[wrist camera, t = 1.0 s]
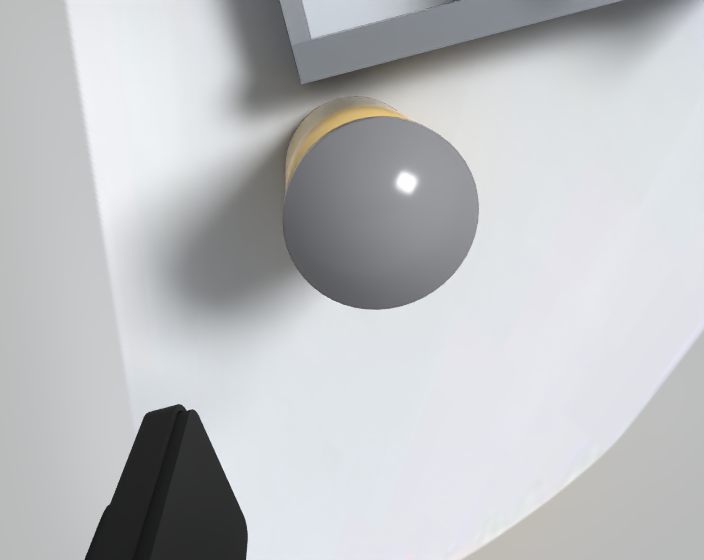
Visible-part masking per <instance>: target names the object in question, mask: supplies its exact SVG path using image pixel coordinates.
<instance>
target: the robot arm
mask: <svg viewBox="0 0 704 560" xmlns="http://www.w3.org/2000/svg"><path fill="white" fill-rule="evenodd" d="M247 541H248V533H247V525H246V521H245V518H244V515H243V513H242V511H241V509H240V506H239V504H238V502H237V500H236V498H235V495H234V493H233V491H232V489H231V486H230V484H229V482H228V480H227V478H226V475H225V473H224V471H223V469H222V466H221V464H220V462H219V460H218V457H217V455H216V453H215V451H214V449H213V446H212V444H211V442H210V440H209V437H208V435H207V433H206V431H205V429H204V426H203V424H202V422H201V420H200V417H199V415H198V414H197V412H196V411H195V410H193V409H192V410H188V411H186V409H185V408H184V407H183V406H182V405H180V404H178V405H174V406H170V407H166V408H163V409H159V410H155V411H151V412H148V413H146V415H145V416H144V418H143V421H142V423H141V426H140V429H139V431H138V434H137V436H136V439H135V441H134V444H133V447H132V449H131V452H130V454H129V457H128V460H127V462H126V465H125V467H124V470H123V472H122V475H121V477H120V480H119V483H118V485H117V488H116V490H115V493H114V496H113V498H112V501H111V503H110V505H108V506H107V508H106V509H105V511H104V513H103V515H102V517H101V519H100V522H99V524H98V527H97V529H96V532H95V535H94V537H93V539H92V542H91V545H90V547H89V550H88V552H87V555H86V557H85V560H246V553H247Z"/></svg>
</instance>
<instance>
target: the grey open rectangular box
mask: <svg viewBox="0 0 704 560" xmlns="http://www.w3.org/2000/svg"><path fill="white" fill-rule="evenodd" d="M619 1H622V0H458V1H454V2H451V3H447V4H443V5H439V6H435V7H431V8H428V9H424V10H420V11H416V12H412V13H409V14H405V15H401V16H397V17H393V18H389V19H386V20H382V21H378V22H374V23H370V24H367V25H363V26H359V27H355V28H351V29H347V30H344V31H340V32H336V33H332V34H328V35H325V36H321V37H317V38H313V39H311V35H310V31H309V27H308V23H307V19H306V15H305V11H304V7H303V2H302V0H280V4H281V8H282V12H283V15H284V19H285V23H286V27H287V31H288V35H289V38H290V42H291V46H292V50H293V54H294V58H295V61H296V65H297V69H298V73H299V77H300V80H301V84H306V83H309V82H313V81H317V80H321V79H325V78H328V77H332V76H336V75H340V74H344V73H348V72H351V71H355V70H359V69H363V68H367V67H370V66H374V65H378V64H382V63H386V62H390V61H393V60H397V59H401V58H405V57H409V56H412V55H416V54H420V53H424V52H428V51H432V50H435V49H439V48H443V47H447V46H451V45H454V44H458V43H462V42H466V41H470V40H473V39H477V38H481V37H485V36H489V35H493V34H496V33H500V32H504V31H508V30H512V29H515V28H519V27H523V26H527V25H531V24H535V23H538V22H542V21H546V20H550V19H554V18H557V17H561V16H565V15H569V14H573V13H577V12H580V11H584V10H588V9H592V8H596V7H599V6H603V5H607V4H611V3H615V2H619Z"/></svg>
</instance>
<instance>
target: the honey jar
mask: <svg viewBox="0 0 704 560" xmlns="http://www.w3.org/2000/svg"><path fill="white" fill-rule="evenodd" d="M285 170H286V191H285V197H284V202H283V230H284V237H285V241H286V246H287V249H288V251H289V254H290V256H291V259H292V261H293V262H294V264H295V266H296V268H297V269H298V271H299V272H300V273H301V275H302V276H303V277H304V279H305V280H306V281H307V282H308V283H309V284H310V285H311V286H312V287H314V288H315V289H316V290H318V291H319V292H320V293H321V294H323V295H325V296H327V297H328V298H330V299H332V300H334V301H336V302H339V303H341V304H344V305H347V306H351V307H355V308H361V309H375V310H379V309H390V308H395V307H400V306H403V305H406V304H409V303H412V302H415V301H417V300H419V299H421V298H423V297H425V296H427V295H428V294H430V293H432V292H433V291H435V290H436V289H437V288H439V287H440V286H441V285H443V284H444V283H445V282H446V281H447V280H448V279H449V278H450V277H451V276H452V275H453V274H454V273H455V271H456V270H457V269H458V268H459V266H460V265H461V264H462V262H463V260H464V259H465V257H466V256H467V254H468V251H469V249H470V247H471V245H472V242H473V239H474V236H475V233H476V229H477V224H478V214H479V204H478V194H477V189H476V185H475V182H474V179H473V176H472V173H471V171H470V169H469V167H468V166H467V164H466V162H465V160H464V159H463V158H462V156H461V155H460V154H459V152H458V151H457V150H456V149H455V148H454V147H453V146H452V145H451V144H450V143H449V142H448V141H447V140H445V139H444V138H443V137H441V136H440V135H439V134H437V133H436V132H434V131H432V130H431V129H429V128H427V127H425V126H423V125H422V124H419V123H416V122H414V121H412V120H410V119H409V118H407V117H406V116H404V115H403V114H401V113H400V112H398V111H397V110H395V109H394V108H392V107H390V106H389V105H387V104H385V103H383V102H381V101H378V100H375V99H371V98H367V97H358V96H354V97H344V98H339V99H335V100H332V101H329V102H327V103H325V104H323V105H321V106H319V107H318V108H317V109H315V110H314V111H312V112H311V113H310V114H309V115H308V116H307V117H306V118H305V119H304V120H303V121H302V122H301V123H300V125H299V126H298V128H297V129H296V131H295V132H294V134H293V136H292V139H291V141H290V144H289V147H288V150H287V155H286V168H285Z"/></svg>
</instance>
